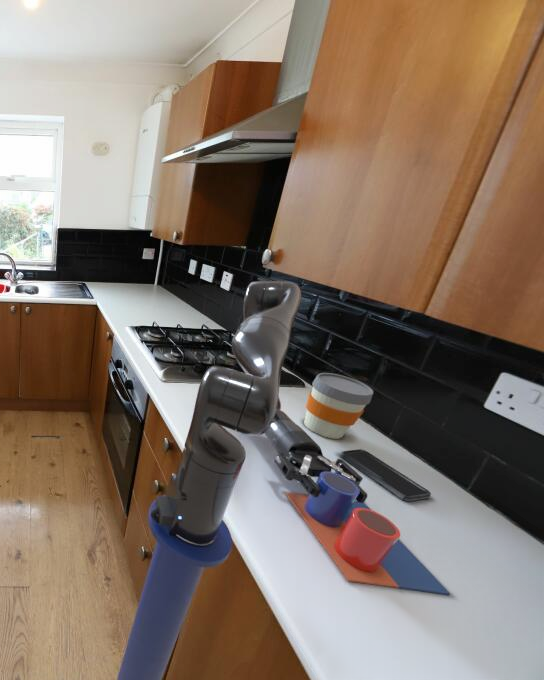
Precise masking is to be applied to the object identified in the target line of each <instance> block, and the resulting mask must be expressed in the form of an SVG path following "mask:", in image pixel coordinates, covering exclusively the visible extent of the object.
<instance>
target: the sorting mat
mask: <svg viewBox="0 0 544 680" xmlns="http://www.w3.org/2000/svg"><path fill="white" fill-rule="evenodd" d="M285 495H286V496H287V498H288V499H289V501H290V502H291V504H292V505H293V507H294V508H295V509H296V510H297V512H298V513H299V515H300V516H301V517H302V519H303V520H304V522H305V523H306V524H307V526H308V528H309V529H310V530H311V531H312V533H313V535H314V536H315V537H316V539H317V540H318V541H319V543H320V544H321V545H322V547H323V548H324V549H325V551H326V552H327V554H328V555H329V557H330V558H331V559H332V561H333V562H334V563H335V565H336V566H337V568H338V569H339V571H340V572H341V573H342V575H343V576H344V577H345V579H346V580H347V581H348V582H350V583H356V584H365V585H374V586H381V587H388V588H395V589H401V590H402V589H403V590H408V591H409V590H410V591H417V592H425V593H433V594H437V595H438V594H439V595H446V596H450V594H451V593H450V591H448V589H447V588H445V586H444V585H443V584H442V583H441V582H440V581H439V580H438V579H437V578H436V576H434V575H433V574H432V573H431V572H430V571H429V570H428V568H427V567H426V566H424V564H423V563H422V562H421V561H420V560H419V559H418V558H417V557H416V556H415V555H414V553H412V551H410V549H408V547H407V546H405V544H404V543H403V542H402V541H401V540H400V538H399V539H398V540H397V542H396V543H395V545H394V546H393V548H392V549H391V551H390V552H389V554H388V555H387V557H386V558H385V560H384V561H383V562H382V564H381V565H380V567H379V568H378V570H377V571H376V572H365V571H362V570H359V569H357V568H355V567H353V566H351V565H350V564H348V563H347V562H346V561H345V560H343V559H342V558H341V557H340V556H339V554H338V553H337V552H336V550H335V548H334V543H335V541H336V539H337V537H338V536H339V534H340V532H341V531H342V529H343V527H344V525H345V524H346V522H347V520H348V518H349V517H350V515H351V513H352V511H353V510H354V509H355V508H366V509H369V510H371V508H369V506H368V505H367V504H366V503H365V502H364V503H360V502H358V501H357V500H355V502H354V504H353V505H352V507H351V509H350V511H349V512H348V514H347V516H346V518H345V519H344V521H343V523H342V525H341V526H340V527H329V526H326V525H324V524H321V523H320V522H318V521H316V520H315V519H313V518H312V517H311V516H310V515H309V514H308V513H307V512H306V510H305V507H304V506H305V503H306V501H307V499H308V497H309V495H310V494H302V493H293V492H285Z"/></svg>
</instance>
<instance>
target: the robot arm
mask: <svg viewBox="0 0 544 680" xmlns="http://www.w3.org/2000/svg"><path fill="white" fill-rule="evenodd" d="M301 301H302V291H301V288H300V286H299V284H297V283H295V282H293V281H285V280H283V281H282V280H281V281H279V280H276V281H275V280H274V281H273V280H254V281H251V282H250V283H249V284H248V285H247V287H246V290H245V293H244V297H243V321H242V322H241V323H240V324H239V325H238V328H237V330H236V331H235V334H234V335H233V338H232V341H231V351H232V355H233V357H234V359H235V361H236V362H237V364H238V366H239V367H240V368H241V369H242V370H243V372H242V371H239V370H236V369H232V368H229V367H225V366H222V365H212V366H210V367H209V368H208V369H207V370H206V371H205V372H204V374H203V376H202V378H201V381H200V383H199V385H198V389H197V394H196V398H195V403H194V408H193V413H192V417H191V421H190V425H189V429H188V432H187V434H186V438H185V442H184V446H183V450H182V453H181V456H180V460H179V463H178V466H177V470H176V473H171V475H170V477H169V481H168V485H167V489H166V492H165V494H164V495H165V496H163V495H156V498H155V500H156V501H155V500H154V501H155V507H156V508H155V509H153V510H152V511H151V517H152V519H153V520H154V521H155V522H156V523H160V525H164V526H167V530H168V533H169V535H170V536H175V537H177V538H178V539H179V540H181V541H183V542H185V543H187V544H189V545H192V546H196V547H206V546H209V545H211V544H212V543H213V542H214V541H215V539H216V536H217V532H218V529H219V526H220V524H221V521H222V520H223V518H224V515H225V513H226V511H227V508H228V505H229V503H230V500H231V497H232V495H233V492H234V490H235V487H236V484H237V481H238V479H239V476H240V474H241V471H242V469H243V466H244V463H245V461H246V456H247V455H246V448H245V447H244V445H243V444H242V442H241V441H240V440H239V439H238V438H237V437H236V436H235V435H233V434H232V433H231V432H229V431H228V430H227V429H230V430H232V431H236V432H237V433H240V434H244V435H246V436H251V437H258V436H262V435H263V434H264V435H265V436H266V437H267V439H268V440H269V442H270V444H271V445H272V446H273V448H274V449H275V450H276V451H277V454H276V457H275V459H274V463H275V464H276V466H277V467H278V469H279V470H280V472H281V474H282V475H283V476H284V477H285V479H286V480H288V481H292V480H294V481H296V483H298V484H300V485H301V486H302V487H303V488H304V490H305V491H306V492H307V493H308V495H310V494H311V495H312V497H318V496H319V494H320V492H321V489H320V488H319V487H318V485H317V484H316V481H314V479H313V478H318V477H319V475H320V473H321V472H325V471H328V472H332V470H333V471H334V473H337V474H339V475H342V476H344V477H346V478H347V479H349V480H350V481H352V482H353V483H354V484H355V485H356V486H357V487H358V488H359V491H360V493H359V495H358V497H357V498H356V500H355V501H358V502H360V503H365V502H366V500H367V499H368V493H367V491H365V489H363V488H362V487H361V486H360V484H361V482H362V481H363V479H364V478H363V476H361V475H360V474H359V473H358V472H357V471H356V470H355V469H354V468H353V467H351V466H350V465H349V463H348V462H347V461H346V460H344V459H343V458H337V459H336V461H332V460H330V459H329V458H328V457H325V456H324V453H323V451H322V449H321V446H320V445H319V444H318V443H317V442H316V440H314V439H313V438H312V437H311V436H310V435H309V434H308V433H307V432H306V431H305V430H304V429H303V428H302V427H301V426H300V425H298V424H297V423H296V422H294V420H293V419H292V418H290V417H289V416H288V414H286V413H285V412H284V411H283V410H281V409H282V404H281V403H282V402H281V398H280V396H279V394H280V384H281V375H282V370H283V366H284V362H285V359H286V357H287V353H288V351H289V348H290V347H289V346H290V342H291V335H292V328H293V324H294V321H295V319H296V317H297V314H298V312H299V309H300V306H301ZM225 428H227V429H225ZM296 469H297V470H296ZM156 515H158V516H156Z"/></svg>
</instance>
